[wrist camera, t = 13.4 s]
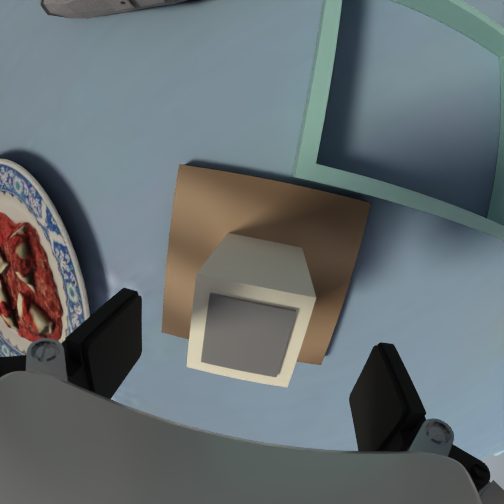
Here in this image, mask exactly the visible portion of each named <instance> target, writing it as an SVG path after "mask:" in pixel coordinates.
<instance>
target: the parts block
mask: <svg viewBox="0 0 504 504" xmlns="http://www.w3.org/2000/svg"><path fill="white" fill-rule="evenodd" d="M315 300H316V295H315V291H314V288H313V284H312V281H311V277H310V273H309V270H308V266H307V263H306V259H305V256H304V253H303V249H302V248H301V247H296V246H291V245H286V244H281V243H276V242H271V241H266V240H261V239H257V238H252V237H247V236H242V235H236V234H231V233H228V234H227V235H226V236H225V238H224V239H223V240H222V241H221V243H220V244H219V245H218V246H217V248H216V249H215V250H214V252H213V253H212V254H211V255H210V257H209V258H208V259H207V260H206V262H205V263H204V264H203V266H202V267H201V268H200V269H199V271H198V272H197V273H196V281H195V289H194V298H193V307H192V316H191V326H190V336H189V346H188V358H187V367H190V368H194V369H198V370H202V371H206V372H210V373H214V374H219V375H223V376H228V377H232V378H237V379H242V380H247V381H252V382H258V383H263V384H269V385H275V386H282V387H288V384H289V381H290V378H291V376H292V373H293V370H294V367H295V364H296V361H297V358H298V355H299V352H300V349H301V346H302V343H303V340H304V336H305V333H306V330H307V327H308V324H309V320H310V317H311V314H312V310H313V307H314V304H315Z"/></svg>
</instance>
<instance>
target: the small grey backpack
mask: <svg viewBox="0 0 504 504" xmlns="http://www.w3.org/2000/svg"><path fill="white" fill-rule="evenodd" d="M183 1H186V0H39V2H40V5H41V6H42V8H43V9H44V10H45V12H46V13H47V14H48V15H53V16H60V17H66V18H86V19H88V18H92V17H98V16H103V15H109V14H115V13H121V12H128V11H133V10H138V9H144V8H149V7H156V6H162V5H170V4H176V3H179V2H183Z"/></svg>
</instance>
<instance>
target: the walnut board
mask: <svg viewBox="0 0 504 504" xmlns="http://www.w3.org/2000/svg"><path fill="white" fill-rule="evenodd" d="M370 205H371V203H369V202H366V201H363V200H359V199H355V198H351V197H347V196H343V195H339V194H335V193H331V192H326V191H322V190H318V189H313V188H309V187H305V186H300V185H295V184H291V183H286V182H281V181H276V180H271V179H266V178H261V177H256V176H250V175H245V174H239V173H233V172H228V171H222V170H215V169H209V168H203V167H196V166H189V165H179V169H178V175H177V182H176V188H175V195H174V203H173V210H172V218H171V226H170V235H169V244H168V254H167V264H166V276H165V288H164V303H163V321H162V332H164V333H167V334H171V335H175V336H178V337H182V338H186V339H189V336H190V326H191V316H192V307H193V298H194V289H195V281H196V273H197V272H198V271H199V269H200V268H201V267H202V266H203V264H204V263H205V262H206V260H207V259H208V258H209V257H210V255H211V254H212V253H213V252H214V250H215V249H216V248H217V246H218V245H219V244H220V243H221V241H222V240H223V239H224V238H225V236H226V235H227V234H228V233H231V234H236V235H242V236H247V237H252V238H257V239H261V240H266V241H271V242H276V243H281V244H286V245H291V246H296V247H301V248H302V249H303V253H304V256H305V259H306V263H307V266H308V270H309V273H310V277H311V281H312V284H313V288H314V291H315V295H316V300H315V304H314V307H313V310H312V314H311V317H310V320H309V324H308V327H307V330H306V333H305V336H304V340H303V343H302V346H301V349H300V352H299V355H298V358H297V362H304V363H310V364H317V365H321V364H322V361H323V358H324V356H325V353H326V351H327V348H328V345H329V343H330V340H331V337H332V334H333V331H334V329H335V326H336V323H337V320H338V317H339V314H340V311H341V308H342V305H343V302H344V299H345V296H346V293H347V290H348V286H349V283H350V280H351V277H352V273H353V270H354V267H355V263H356V260H357V256H358V252H359V249H360V245H361V241H362V238H363V234H364V230H365V226H366V222H367V218H368V214H369V210H370Z"/></svg>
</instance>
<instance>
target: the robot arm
mask: <svg viewBox="0 0 504 504" xmlns="http://www.w3.org/2000/svg"><path fill="white" fill-rule="evenodd" d="M65 339H66V340H65V341H63V342H62V343H60V342H59V341H57V340H55V339H51V338H43V339H38V340H36V341H34V342H33V343H31V344H30V345H29V347H28V349H27V354H26V355H20V356H9V357H0V504H504V490H503V489H502V488H501V487H500V486H499V485H498V484H497V483H496V482H495V481H494V480H493V481H492V482H489V480H490V471H489V469H488V467H487V466H486V465H485V463H483V462H482V461H480V460H479V459H477V458H475V457H473V456H472V455H470V454H468V453H466V452H465V451H463V450H461V449H460V448H458V447H456V446H455V445H453V441H454V433H453V431H452V429H451V427H450V426H449V425H448V424H447V423H445V422H444V421H441V420H439V419H428V420H426V418H425V414H426V411H425V409H424V407H423V404H422V402H421V400H420V398H419V395H418V393H417V391H416V389H415V387H414V385H413V383H412V380H411V378H410V376H409V374H408V372H407V370H406V368H405V366H404V364H403V362H402V360H401V358H400V356H399V354H398V352H397V350H396V348H395V346H394V345H393V344H389V343H379V344H378V345H375V346H374V347H373V349H372V351H371V353H370V355H369V358H368V360H367V362H366V364H365V366H364V368H363V370H362V372H361V374H360V376H359V378H358V380H357V382H356V384H355V386H354V388H353V390H352V392H351V394H350V398H349V402H350V407H351V412H352V417H353V423H354V428H355V434H356V439H357V445H358V451H340V450H323V449H311V448H301V447H292V446H284V445H277V444H270V443H264V442H258V441H252V440H247V439H242V438H237V437H232V436H227V435H222V434H218V433H214V432H210V431H206V430H202V429H198V428H194V427H190V426H187V425H183V424H180V423H176V422H173V421H170V420H167V419H163V418H160V417H157V416H154V415H151V414H148V413H145V412H142V411H140V410H137V409H134V408H132V407H129V406H126V405H124V404H121V403H118V402H116V401H113V400H111V398H112V396H113V395H114V393H115V392H116V390H117V389H118V387H119V386H120V385H121V383H122V382H123V380H124V379H125V377H126V376H127V375H128V373H129V372H130V370H131V369H132V368H133V366H134V365H135V363H136V362H137V361H138V359H139V358H140V356H141V353H142V298H141V296H138V292H137V291H134V290H130V289H127V288H123V289H122V290H120V291H119V292H118V293H117V294H116V295H114V296H113V297H112V298H111V299H110V300H108V301H107V302H106V303H105V304H104V305H103V306H101V307H100V308H99V309H98V310H97V311H96V312H94V313H93V314H92V315H91V316H90V317H89V318H87V319H86V320H85V321H84V322H83V323H82V324H81V325H79V326H78V327H77V328H76V329H75V330H74V331H73V332H72V333H70V334H69V335H68V336H67V337H66V338H65Z"/></svg>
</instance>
